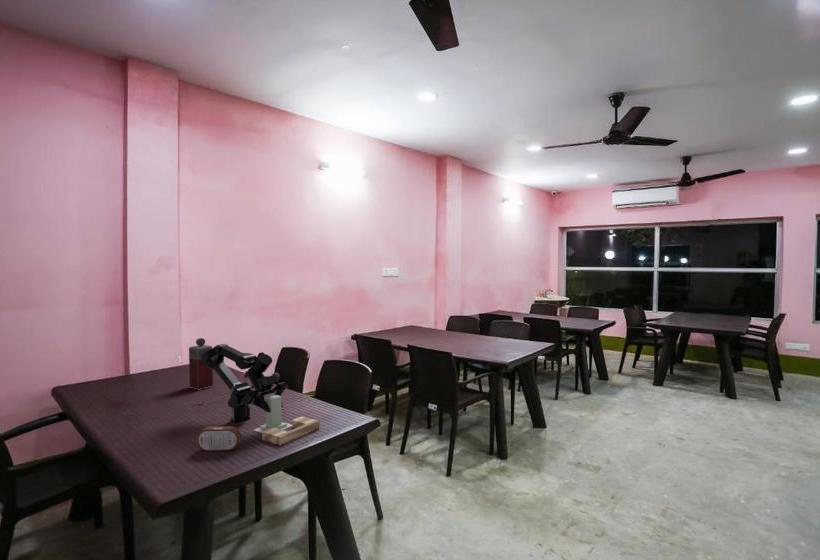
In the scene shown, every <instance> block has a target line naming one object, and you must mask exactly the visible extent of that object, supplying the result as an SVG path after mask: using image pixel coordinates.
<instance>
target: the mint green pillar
mask: <svg viewBox="0 0 820 560" xmlns="http://www.w3.org/2000/svg"><path fill="white" fill-rule="evenodd" d="M281 399H282V395H281V396H278V395H274V396H273V395H271V396H268V397H265V401H266V403H267V405H268V407H269V409H270V412H269V413H268V412H266V411H265V424H263V425H260V426H259V428H260V429H263V430H268V429H270V428H277V429H281V428H284V427H286V426H287V422H283V421H282V418H283V417H282V410H283V409H282V408H283V407H282V405H283V400H281Z"/></svg>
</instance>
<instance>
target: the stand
mask: <svg viewBox="0 0 820 560" xmlns="http://www.w3.org/2000/svg"><path fill="white" fill-rule="evenodd" d="M291 425H292V427H291V428H293V429H290V430H288V431H286V430H280V429H277V428H270V429H268V430H265V431H263V432H262V433H261V439H262V441H265V442H269V443H272V444H275V445H277V444H278V446H283V445H285V444H287V443H290V442H292V441H294V440H296V439H298V438H300V436H301V437H303V436H305V435H308V434H310V433H311V431H312V432H314V431H316V430H318V428H319V427H321V426H320V425H321V424H320V420H318V419H314V418H310V417H305V416H299V417H296V418H294V419H292V420H291ZM315 429H316V430H315ZM319 429H320V428H319ZM313 430H314V431H313ZM309 432H310V433H309ZM304 434H305V435H304ZM302 435H303V436H302ZM293 439H294V440H293ZM291 440H292V441H291ZM282 444H283V445H282Z"/></svg>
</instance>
